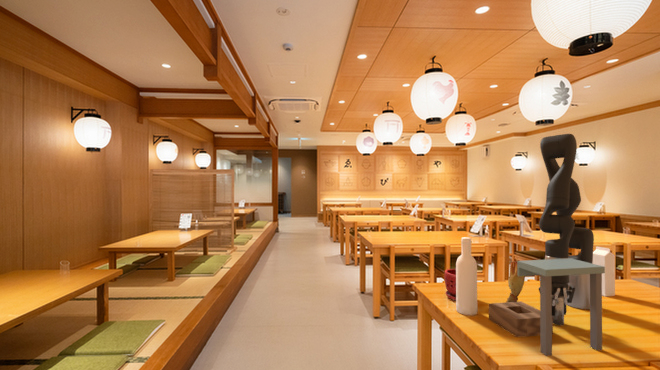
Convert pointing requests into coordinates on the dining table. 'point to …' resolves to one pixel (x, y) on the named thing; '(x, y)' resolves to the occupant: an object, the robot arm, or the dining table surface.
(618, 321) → the dining table surface
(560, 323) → the peg
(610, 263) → the milk
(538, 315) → the socket block
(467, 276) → the bottle
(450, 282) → the plant pot
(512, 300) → the crab claw
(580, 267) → the small grey stool
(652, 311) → the dining table surface
